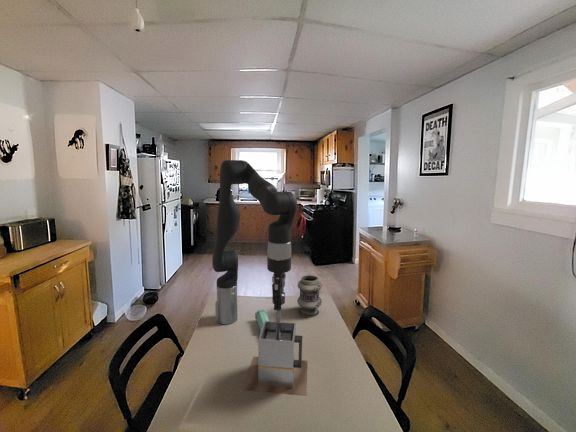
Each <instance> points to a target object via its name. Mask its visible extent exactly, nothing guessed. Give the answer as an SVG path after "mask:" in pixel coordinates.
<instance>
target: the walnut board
mask: <svg viewBox="0 0 576 432" xmlns="http://www.w3.org/2000/svg"><path fill="white" fill-rule="evenodd" d="M308 362H309V361H308V360H304V359H302V366H301V368H294V378H293V388H285V387H273V386H262V385H258V356H254V355H253V357H252V360H251V362H250V366H249V369H248V372H247V376H246V378H245V382H244V384H243V388H242V391H247V392H260V393H268V394H269V393H272V394H282V395H283V394H284V395H292V396H305V397H306V396H307V395H308V393H307V392H308Z"/></svg>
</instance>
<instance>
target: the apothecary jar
mask: <svg viewBox="0 0 576 432" xmlns="http://www.w3.org/2000/svg"><path fill="white" fill-rule="evenodd" d="M322 286H323V284H322V283H321V281H320V280H319V277H318V276H316V275H314V274H305V275H303V276H302V277H301V278H300V280H299V281H298V282H297V288H298V289H299V296H298V297H297V304H298V306H299V307H300V308H299V312H298V313H299V314H300V315H301V316H303V317H307V318H312V317H317V316H318V315H319V314H320V311H319V309H318V308H320V307H321V306H322V298H321V297H320V290H321V289H322V288H323V287H322Z"/></svg>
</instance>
